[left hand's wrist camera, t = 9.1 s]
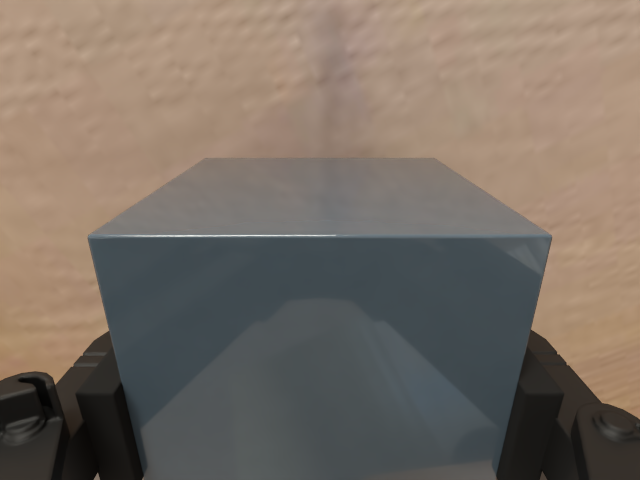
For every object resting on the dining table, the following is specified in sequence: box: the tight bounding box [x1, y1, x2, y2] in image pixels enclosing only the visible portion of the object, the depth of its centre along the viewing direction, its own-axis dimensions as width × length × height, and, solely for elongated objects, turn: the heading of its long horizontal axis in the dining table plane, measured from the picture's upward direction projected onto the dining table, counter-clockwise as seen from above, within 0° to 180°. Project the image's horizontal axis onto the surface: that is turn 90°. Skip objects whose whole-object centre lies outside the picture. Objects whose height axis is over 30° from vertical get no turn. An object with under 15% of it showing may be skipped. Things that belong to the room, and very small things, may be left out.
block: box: [88, 158, 552, 480], centre depth 12 cm, size 9×8×8 cm
